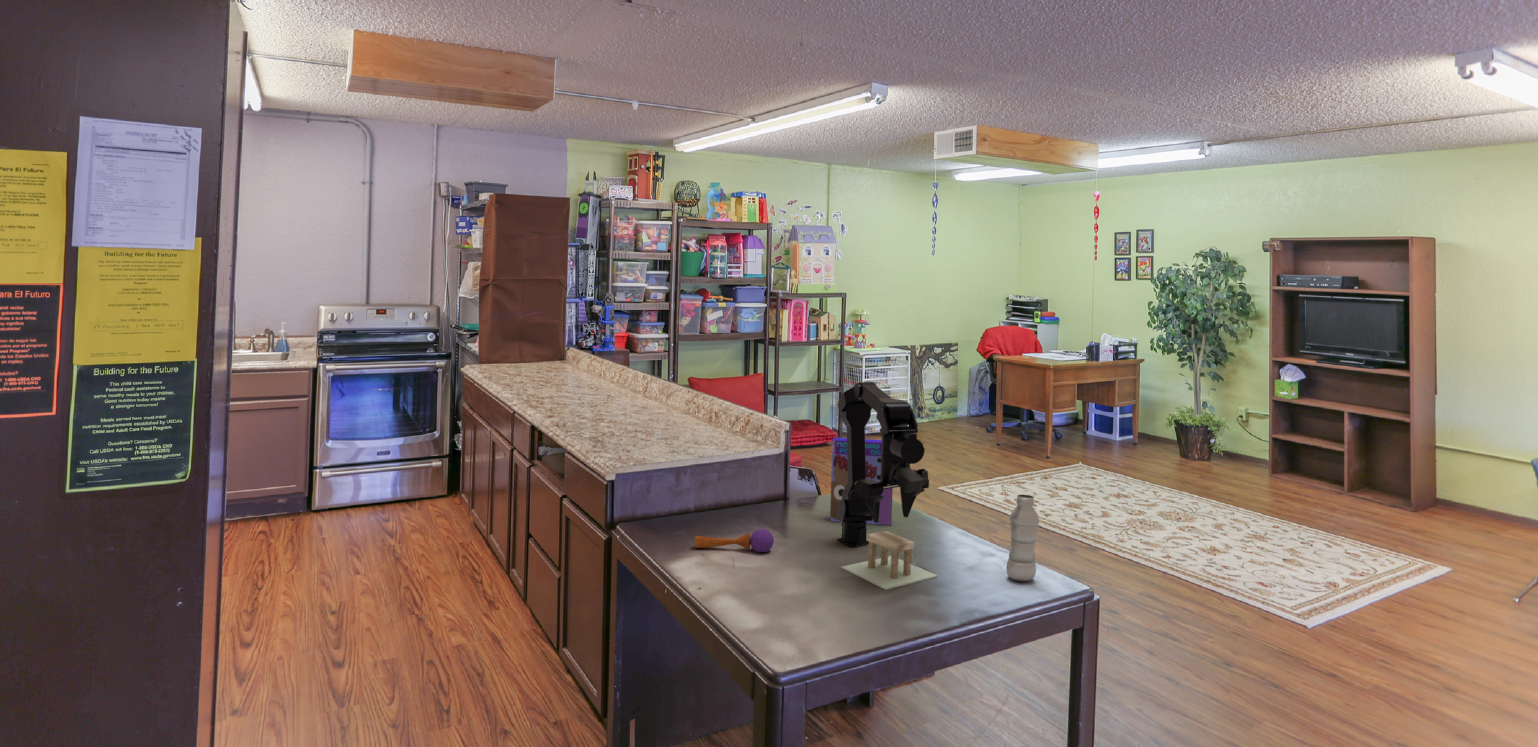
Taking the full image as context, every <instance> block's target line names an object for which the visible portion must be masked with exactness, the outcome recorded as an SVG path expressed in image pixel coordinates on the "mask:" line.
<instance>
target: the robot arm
mask: <svg viewBox="0 0 1538 747" xmlns="http://www.w3.org/2000/svg"><path fill="white" fill-rule="evenodd" d="M837 408H838V411H839V418H840V419H841V421H842V422H843V424H844V426H845V428H846V438H847V462H848V483H847V485H846V487H845V489H844V490H843V492H842V500H841V502H840V504H839V506H838V507H837V509H836V516H837V519H838V520H840V521H841V522H842V523H841V537H839V538H837V539H836V541H838V542H840V543H842V544H844V545H846V546H849V547H851V548H854V547H858V546H859V547H860V546H863V545H867V544H868V545H869V542H868V541H867V532H868V531H867V530H868V528H867V524H866V521H872V519H873V521H874V522H875V523H878V520H879V509H880V501H881V500H882V499H883V496H881V494H882V493H883V489H889V488H893V489H895V488H899V490H900V491H899V492H900V499H901V500H900V501H901V509H902V510H901V511H902V516H903V517H904V518H908V517H909V515H910V512H911V509H912V507H913V505H914V503H915V500H916V498H917V496H918V495H920V494H921V493H924V492H925V490H926V489H929V487H930V479H929V471H928V470H927V469H926V468H918V469H912V468H911V465H915V464H917V463H919V462H920V461H921V460H922V459H923V457H924V455H925V450H926V449H925V446H924V444H923V442H922V441H921V440H919V439H918V434H917V433H919V429H918V426H919V424H918V421H917V419H916V417H915V413H914V411H913V407H912V406H911V404H910V403H909V402H908V401H907V400H903V399H898V398H893V397H892V396H890V395H889V394H887V393H886V392H885V391H884V390H882V389H881V388H880V387H878V385H877V383H876V382H873V381H858V382H856V383H855V384H854V386H853V387H850V388H849V389H847V390H845V391H844V392H843V393H842V394H841V395H840V397H839V399H838V400H837ZM872 410H874V411H875V412H876V418H875V419H876V420H877V421H878V423H879V425H880V429H879V432H880V433H881V440H882V444H881V457H879V458H877V462H879V463H881V472H880V474H879V475H877V479H878V480H880V482H878V481H875V480H871V479H866V457H865V439H866V433H865V432H866V426H867V424H868V422H869V421H870V419H871V416H872ZM887 484H890V485H887Z"/></svg>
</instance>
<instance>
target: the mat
mask: <svg viewBox="0 0 1538 747" xmlns="http://www.w3.org/2000/svg"><path fill="white" fill-rule="evenodd" d="M903 567H904V559H900V558H899V559H898V578H897V579H892V578H890V574H891V555H888V565H885V566H883V565H881V557H880V558H875V568H872V569H871V568H869V567H868V560H866V561H861V562H857V563H851V564H847V565H843V566H841V569H842V570H844V571H846V572H848V573H850V574H853V575H855V576H856V577H857V578H861V579H862V580H865V581H867V582H869V583H870V584H872V585H875V586H877V587H878V588H881V589H883V590H886V591H887V590H891V589H895V588H898V587H899V588H900V587H903V586H907V585H912V584H916V583H920V582H922V581H923V582H924V581H928V580H932V579H936V578H938V575H937V574H935V573H932V572H930V571H928V570H925V569H923V568H921V567H919V566H916V565H914V564H913V563H911V575H909V576H906V575H903Z"/></svg>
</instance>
